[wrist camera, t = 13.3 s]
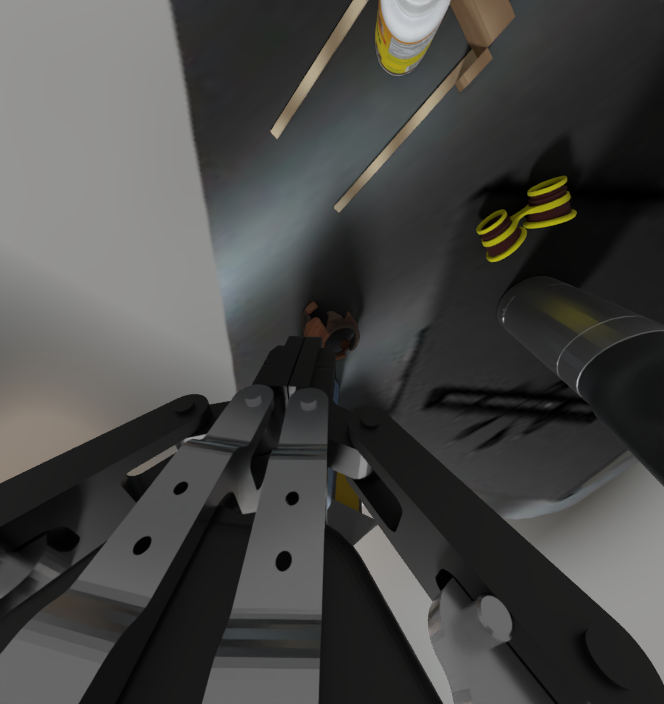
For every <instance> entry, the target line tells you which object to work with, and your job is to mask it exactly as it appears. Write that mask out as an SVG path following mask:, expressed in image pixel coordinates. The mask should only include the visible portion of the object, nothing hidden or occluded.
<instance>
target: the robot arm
mask: <svg viewBox="0 0 664 704" xmlns="http://www.w3.org/2000/svg"><path fill="white" fill-rule="evenodd" d="M497 318H498V321H499V323H500V324H501V325H502V326H503V327H504V328H505V329H506V330H507V331H508V332H509V333H511V334H512V335H513V336H514V337H515V338H516V339H517V340H518V341H519V342H520V343H521V344H523V345H524V346H525V347H526V348H527V349H528V350H529V351H530V352H531V353H533V354H534V355H535V356H536V357H537V358H538V359H539V360H540V361H542V362H543V363H544V364H545V365H546V366H547V367H548V368H549V369H550V370H552V371H553V372H554V373H555V374H556V375H557V376H558V377H559V378H560V379H562V380H563V381H564V382H565V383H566V384H567V385H568V386H570V387H571V388H572V389H573V390H574V391H575V392H576V393H577V394H578V395H580V396H581V397H582V398H583V399H584V400H585V401H586V402H587V403H589V404H590V406H591V408H592V410H593V412H594V414H595V415H596V417H597V418H598V419H599V420H600V422H601V423H602V424H603V425H604V426H605V427H606V428H607V429H608V430H609V431H610V432H611V433H612V434H613V435H614V436H615V437H616V438H617V439H618V440H619V441H620V442H621V443H622V444H623V445H624V446H625V447H626V448H627V449H628V450H629V451H630V452H631V453H632V454H633V455H634V456H635V457H636V458H637V459H638V460H639V461H640V462H641V463H642V464H643V465H644V466H645V467H646V468H647V469H648V471H649V472H650V473H651V474H652V475H653V476H655V478H656V479H657V480H658V481H659V482H660V483H661V484H662V485H663V486H664V325H663V324H661V323H659V322H656V321H654V320H651V319H649V318H646V317H644V316H642V315H639V314H637V313H634V312H632V311H630V310H627V309H625V308H623V307H620V306H618V305H616V304H613V303H611V302H609V301H606V300H604V299H601V298H599V297H597V296H594V295H592V294H590V293H587V292H585V291H583V290H580V289H578V288H576V287H573V286H571V285H569V284H566V283H564V282H562V281H559V280H557V279H555V278H552V277H548V276H536V277H531V278H528V279H525V280H523V281H521V282H519V283H517V284H516V285H514V286H513V287H512V288H511V289H509V290H508V291H507V292H506V293H505V295H504V296H503V297H502V299H501V301H500V303H499V305H498V308H497ZM335 371H336V354H335V352H334V351H333V349H332V348H322V337H307V336H306V337H305V336H289V338H288V340H287V342H286V344H285V346H277V347H275V348H274V349H273V350H271V351H270V353H269V355H268V356H267V358H266V360H265V362H264V364H263V366H262V367H261V369H260V371H259V373H258V375H257V376H256V378H255V380H254V382H253V384H252V385H250V386H247V387H244V388H242V389H241V390H239V391H238V392H237V393H236V394H235V395H234V397H233V398H232V400H231V401H228V402H222V403H216V404H210V405H209V403H208V400H207V399H206V397H204V396H202V395H199V394H191V395H186V396H182V397H180V398H177V399H175V400H173V401H171V402H169V403H167V404H165V405H163V406H161V407H159V408H157V409H155V410H153V411H150V412H148V413H146V414H144V415H142V416H140V417H138V418H136V419H134V420H132V421H130V422H127V423H125V424H123V425H121V426H120V427H117V428H115V429H113V430H111V431H109V432H107V433H104V434H102V435H100V436H98V437H96V438H94V439H92V440H90V441H88V442H86V443H84V444H82V445H80V446H78V447H75V448H73V449H71V450H69V451H67V452H65V453H63V454H61V455H59V456H56V457H54V458H52V459H50V460H48V461H46V462H44V463H42V464H40V465H38V466H36V467H34V468H31V469H29V470H27V471H25V472H23V473H21V474H19V475H17V476H15V477H13V478H11V479H8V480H7V481H4V482H2V483H1V484H0V704H443V703H442V701H441V699H440V697H439V696H438V694H437V692H436V690H435V688H434V686H433V685H432V683H431V681H430V679H429V678H428V676H427V674H426V672H425V671H424V669H423V667H422V665H421V663H420V661H419V660H418V658H417V656H416V655H415V653H414V651H413V649H412V647H411V645H410V644H409V642H408V640H407V638H406V637H405V635H404V633H403V631H402V630H401V627H400V626H399V624H398V622H397V620H396V619H395V617H394V615H393V613H392V611H391V610H390V608H389V606H388V604H387V603H386V601H385V599H384V597H383V595H382V594H381V592H380V590H379V588H378V587H377V585H376V583H375V581H374V579H373V577H372V576H371V574H370V572H369V570H368V568H367V567H366V565H365V563H364V561H363V560H362V558H361V556H360V555H359V554H358V552H357V551H356V549H355V548H354V547H353V545H352V544H351V543H350V542H349V541H348V540H347V539H346V538H345V537H344V536H343V535H342V534H341V533H339V532H338V531H337V530H335V529H334V528H332V527H331V526H329V525H327V494H328V468H330V469H333V470H335V471H337V472H339V473H342V474H344V475H345V477H346V480H347V482H348V483H349V485H350V486H351V487H352V489H353V490H354V492H355V493H356V494H357V496H358V497H359V499H360V500H361V501H362V503H363V504H364V506H365V507H366V508H367V510H368V511H369V513H370V514H371V515H372V517H373V518H374V520H375V521H376V522H377V524H378V525H379V527H380V528H381V529H382V530H383V532H384V533H385V535H386V536H387V538H388V539H389V541H390V542H391V544H392V545H393V546H394V547H395V549H396V551H397V552H398V553H399V555H400V556H401V558H402V559H403V560H404V562H405V563H406V564H407V566H408V567H409V569H410V570H411V572H412V573H413V574H414V576H415V577H416V579H417V580H418V581H419V583H420V584H421V586H422V587H423V588H424V590H425V591H426V593H427V594H428V596H429V597H430V598H431V600H432V601H433V602H432V604H431V607H430V610H429V614H428V629H429V635H430V639H431V642H432V646H433V649H434V651H435V654H436V655H437V658H438V660H439V661H440V663H441V665H442V667H443V669H444V671H445V674H446V676H447V679H448V681H449V684H450V688H451V691H452V696H453V701H454V704H664V685H663V682H662V680H661V678H660V676H659V675H658V673H657V671H656V669H655V668H654V666H653V664H652V663H651V661H650V660H649V658H648V657H647V655H646V654H645V652H644V651H643V650H642V649H641V647H640V646H639V645H638V643H637V642H636V641H635V640H634V639H633V638H632V636H631V635H630V634H629V633H628V632H627V631H626V630H625V629H624V628H623V627H622V626H621V625H620V624H619V623H618V622H617V621H616V620H615V619H613V618H612V617H611V616H610V615H609V614H608V613H607V612H606V611H605V610H603V609H602V608H601V607H600V606H599V605H598V604H597V603H596V602H595V601H593V600H592V599H591V598H590V597H589V596H588V595H587V594H586V593H585V592H583V591H582V590H581V589H580V588H579V587H578V586H577V585H576V584H575V583H574V582H572V581H571V580H570V579H569V578H568V577H567V576H566V575H565V574H563V573H562V572H561V571H560V570H559V569H558V568H557V567H556V566H555V565H554V564H552V563H551V562H550V561H549V560H548V559H547V558H546V557H545V556H544V555H543V554H541V553H540V552H539V551H538V550H537V549H536V548H535V547H534V546H532V545H531V544H530V543H529V542H528V541H527V540H526V539H525V538H524V537H523V536H521V535H520V534H519V533H518V532H517V531H516V530H515V529H514V528H512V526H510V525H509V524H508V523H507V522H506V521H505V520H504V519H503V518H502V517H500V516H499V515H498V514H497V513H496V512H495V511H494V510H493V509H492V508H490V507H489V506H488V505H487V504H486V503H485V502H484V501H483V500H482V499H480V498H479V497H478V496H477V495H476V494H475V493H474V492H473V491H472V490H471V489H469V488H468V487H467V486H466V485H465V484H464V483H463V482H462V481H461V480H459V479H458V478H457V477H456V476H455V475H454V474H453V473H452V472H451V471H449V470H448V469H447V468H446V467H445V466H444V465H443V464H442V463H441V462H439V461H438V460H437V459H436V458H435V457H434V456H433V455H432V454H431V453H430V452H428V451H427V450H426V449H425V448H424V447H423V446H422V445H421V444H420V443H418V442H417V441H416V440H415V439H414V438H413V437H412V436H411V435H410V434H408V433H407V432H406V431H405V430H404V429H403V428H402V427H401V426H400V425H399V424H397V423H396V422H395V421H394V420H393V419H392V418H391V417H390V416H389V415H387V414H386V413H385V412H384V411H382V410H381V409H378V408H376V407H371V406H362V407H359V408H356V409H355V410H353V411H352V412H351V411H348V410H345V409H343V408H341V407H339V406H338V405H337V404H336V403H335V402H334V401H333V397H334V388H335ZM174 445H176V447H177V449H178V451H177V452H176V453H175V454H173V455H171V456H170V457H168V458H166V459H165V460H163V461H161V462H160V463H158V464H156V465H155V466H153V467H151V468H150V469H148V470H147V471H145V472H143V473H141V474H139V475H136V476H128V475H126V474H127V473H128V472H129V471H131V470H133V469H134V468H136V467H138V466H139V465H141V464H143V463H144V462H146V461H148V460H150V459H151V458H153V457H155V456H156V455H158V454H160V453H162V452H163V451H165V450H167V449H168V448H170V447H172V446H174Z"/></svg>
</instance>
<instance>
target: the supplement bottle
mask: <svg viewBox="0 0 664 704" xmlns="http://www.w3.org/2000/svg"><path fill="white" fill-rule="evenodd" d="M450 1H451V0H379V5H378V14H377V22H376V32H375V48H376V54H377V57H378V60H379V62H380V64H381V66H382V67H383V69H384V70H385V71H386V72H388V73H389V74H391V75H395V76H401V75H405V74H407V73H409V72H411V71H412V70H413V69H414V68H415V67H416V66H417V65H418V64H419V63H420V62H421V60H422V59H423V57H424V55H425V53H426V51H427V49H428V47H429V46H430V43H431V41H432V39H433V37H434V35H435V33H436V31H437V29H438V27H439V25H440V23H441V21H442V19H443V17H444V15H445V13H446V11H447V9H448V6H449V4H450Z"/></svg>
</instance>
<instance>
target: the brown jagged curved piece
mask: <svg viewBox="0 0 664 704" xmlns="http://www.w3.org/2000/svg"><path fill="white" fill-rule="evenodd" d="M317 308H318V306H317V305H316V304H315V302H312V303H310V304H309V305H308V306H307V307H306V308H305V310H304V311H303V314H302V317H301V323H302V335H303V336H305V337H306V336H307V337H322V348H324V345H325V342H326V340H327V339H328V337H329V336H330V335H331V334H332V333H334V332H335V331H337V330H339V329H342V328H350V329H352V330H353V332H354V336H353V337H352V338H351V340H350V341H349V340H344V341H343V342H342V344H341V345H340V347H341V348H342V349H343V350H342V351H340V352H338V353H335V354H336V360H340V359H342V358H344V357H346V355H345V353H344V352H346V351H347V350H348V349H349V350H350V351H352V350H354V349H355V348H356V346H357V344H358V342H359V339H360V335H359V334H360V333H359V330H358V326H357V322H356V321H355V320H354V319H353V317H352V316H351V314H350V313H349V312H348V311H346V316H345V318H344V319H343V318H342V316H340V315H339V314H336V313H335V312H334V311H329V312H327V315H328V322H327V326H326V327H325V326H324V325H323V324H322V322H321V320H320V319H319V318H317V317H315V318H313V319H312V318H311V317H310V314H311V313H312V312H313V311H314V310H315V309H317Z"/></svg>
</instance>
